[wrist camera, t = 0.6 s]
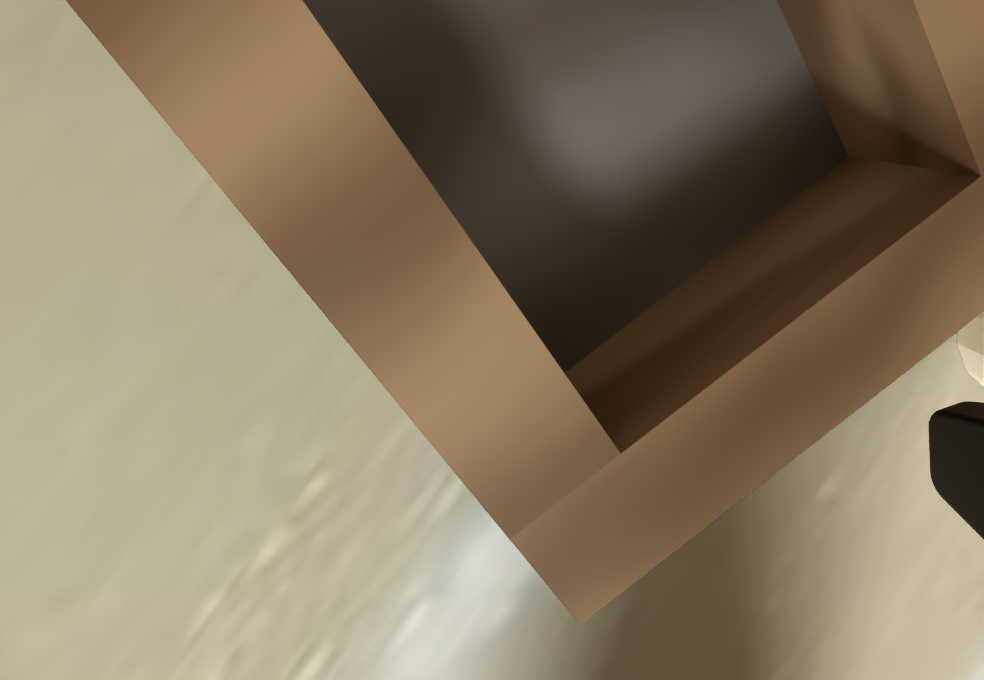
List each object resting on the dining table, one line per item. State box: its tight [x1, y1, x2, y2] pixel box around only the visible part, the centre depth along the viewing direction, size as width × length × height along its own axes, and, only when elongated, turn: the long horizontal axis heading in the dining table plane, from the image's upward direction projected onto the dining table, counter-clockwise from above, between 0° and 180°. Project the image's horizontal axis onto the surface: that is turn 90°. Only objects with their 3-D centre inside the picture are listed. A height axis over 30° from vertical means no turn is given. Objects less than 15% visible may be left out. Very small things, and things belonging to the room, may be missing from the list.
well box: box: [66, 0, 984, 625], centre depth 18 cm, size 20×16×6 cm
